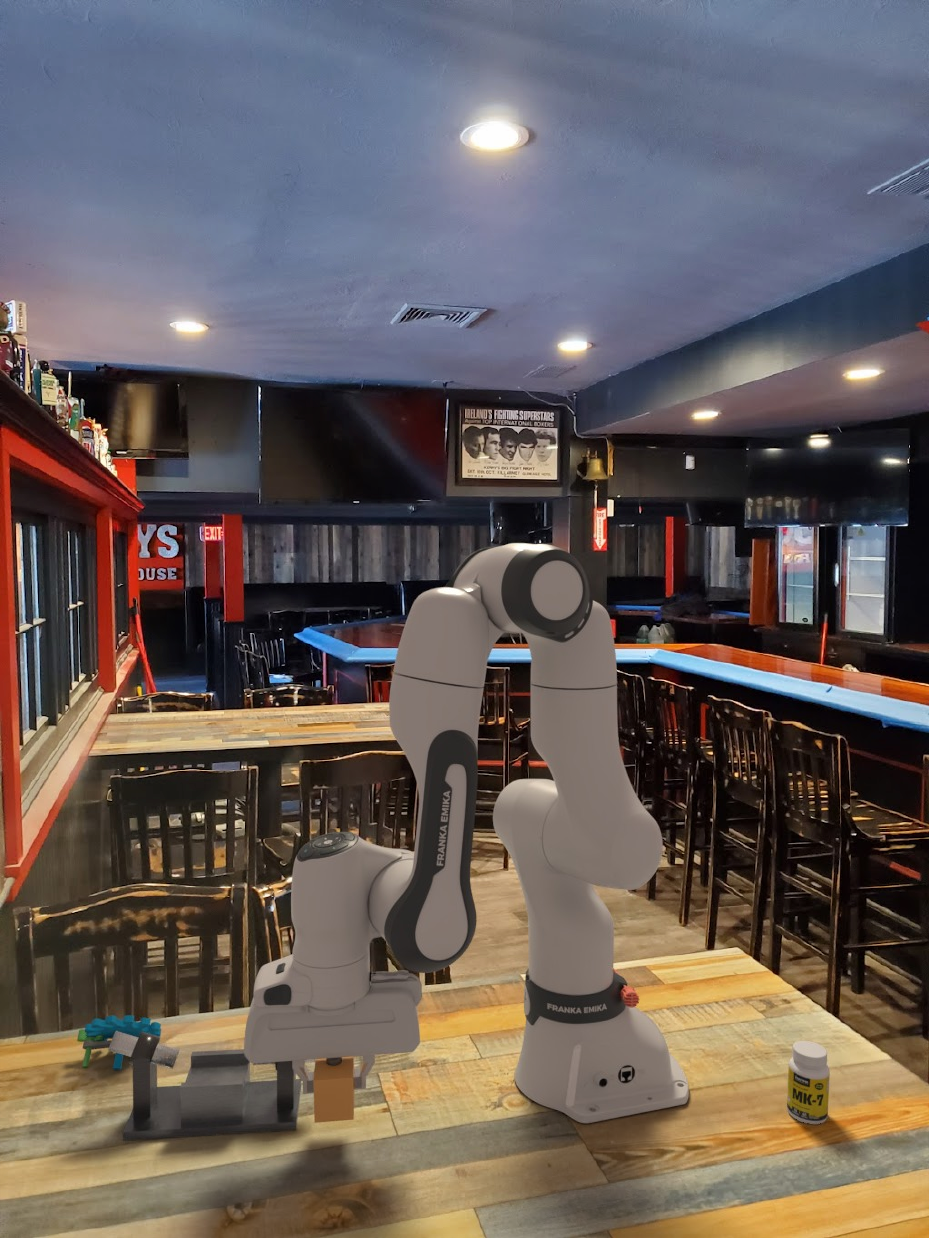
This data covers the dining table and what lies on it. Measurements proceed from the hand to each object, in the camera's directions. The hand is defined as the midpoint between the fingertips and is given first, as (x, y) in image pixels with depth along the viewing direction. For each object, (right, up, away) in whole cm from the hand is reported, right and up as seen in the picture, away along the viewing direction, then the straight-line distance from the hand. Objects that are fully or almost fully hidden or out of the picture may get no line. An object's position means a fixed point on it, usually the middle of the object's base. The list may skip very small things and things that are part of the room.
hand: (334, 1088), depth 104 cm
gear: (-32, -5, +18) cm, 37 cm away
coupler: (0, -2, 0) cm, 2 cm away
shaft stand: (-15, -6, +6) cm, 17 cm away
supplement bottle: (+58, -7, +7) cm, 59 cm away
